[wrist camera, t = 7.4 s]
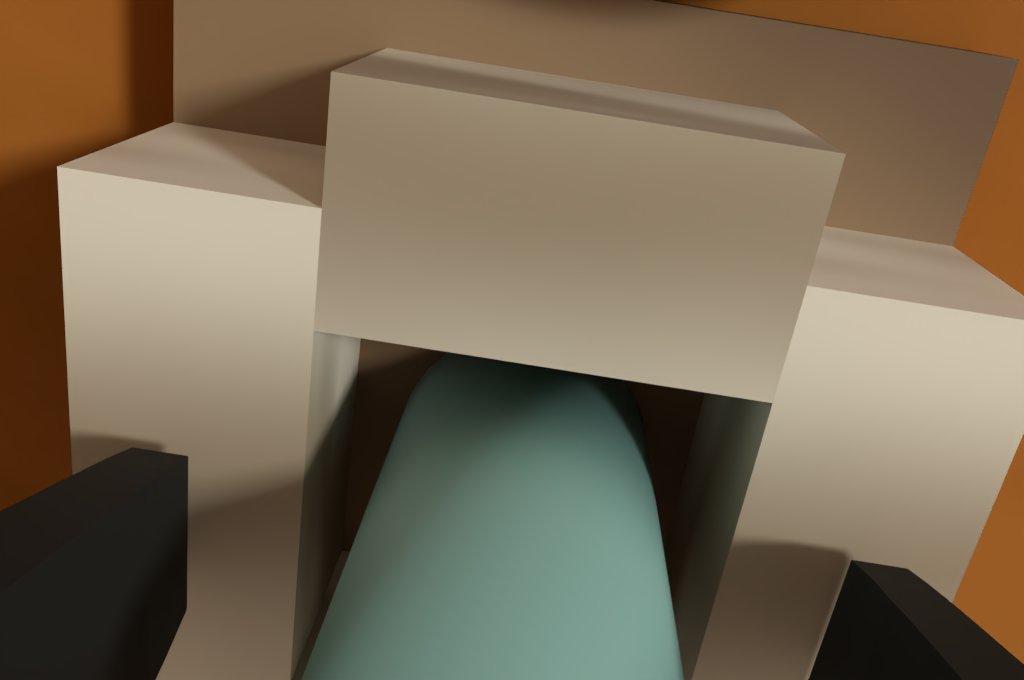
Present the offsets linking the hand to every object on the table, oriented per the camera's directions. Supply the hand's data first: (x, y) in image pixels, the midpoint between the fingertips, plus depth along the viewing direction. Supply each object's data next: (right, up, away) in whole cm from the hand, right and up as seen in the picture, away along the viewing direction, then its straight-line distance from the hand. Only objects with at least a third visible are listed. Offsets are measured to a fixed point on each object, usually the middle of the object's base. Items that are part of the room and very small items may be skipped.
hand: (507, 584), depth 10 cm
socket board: (0, +2, +4) cm, 4 cm away
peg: (0, +1, +3) cm, 3 cm away
